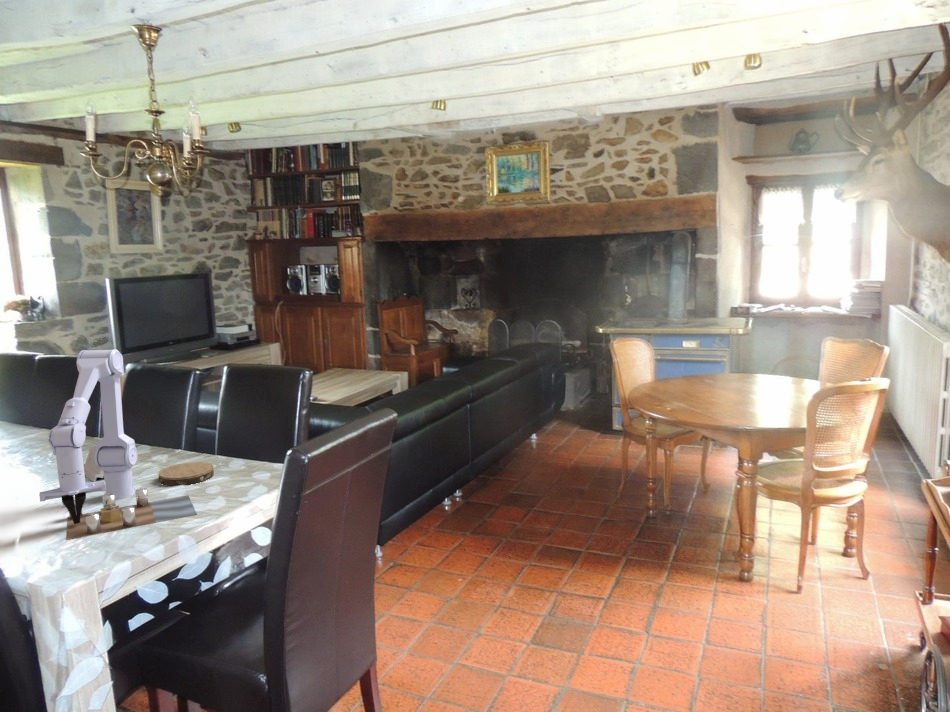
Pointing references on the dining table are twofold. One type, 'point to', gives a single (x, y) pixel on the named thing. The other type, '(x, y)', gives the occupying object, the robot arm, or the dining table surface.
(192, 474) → the brown flat round disc
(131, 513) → the steel spacers
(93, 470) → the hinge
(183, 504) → the spacer board
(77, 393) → the robot arm
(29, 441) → the dining table surface
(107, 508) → the brass nut
